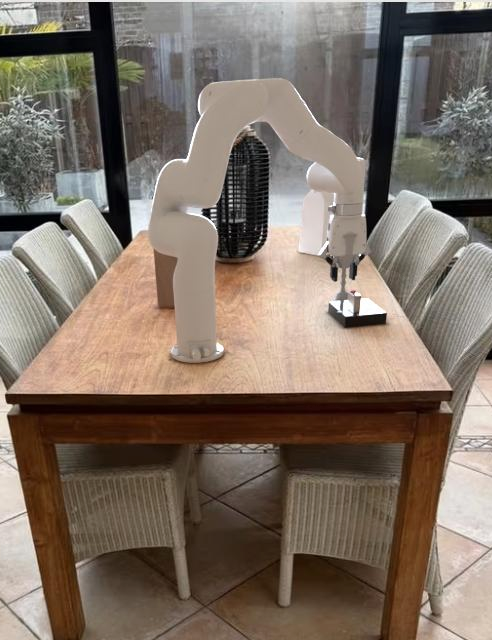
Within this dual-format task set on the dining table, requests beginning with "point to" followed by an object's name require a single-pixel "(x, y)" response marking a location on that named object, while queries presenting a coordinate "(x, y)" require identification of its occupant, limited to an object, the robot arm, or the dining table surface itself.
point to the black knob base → (357, 314)
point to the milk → (315, 221)
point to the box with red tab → (354, 301)
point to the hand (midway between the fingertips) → (343, 279)
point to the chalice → (345, 267)
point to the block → (164, 279)
